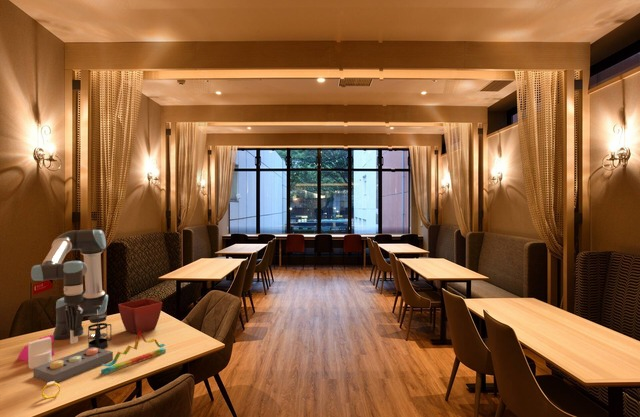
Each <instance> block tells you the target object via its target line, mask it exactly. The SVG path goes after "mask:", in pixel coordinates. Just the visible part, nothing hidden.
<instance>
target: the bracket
mask: <svg viewBox="0 0 640 417" xmlns="http://www.w3.org/2000/svg"><path fill="white" fill-rule="evenodd" d="M47 337H51V344H52V343H54V340H55V339H54V335H53V334H49V335H45V336H43V337H39V338H38V340H39V339H43V338H47ZM54 351H55V350H54V349H51V352H52V356H54V354H55V352H54ZM17 359H18V360H22V361H24V362H28V344H27V345H25V346H24V347H23V348H22V349H21V352H20V353H19V354H18V356H17Z"/></svg>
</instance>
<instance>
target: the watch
mask: <svg viewBox="0 0 640 417" xmlns="http://www.w3.org/2000/svg"><path fill="white" fill-rule="evenodd" d="M51 386H56V387H57V388H58V392H57V393H56V394H53V395H48V396H47V395H45V393H44V390H45V388H47V387H51ZM60 392H61V385H60V383H59V382H58V383H55V381H51V382H47V383H46V385H44V387H43V388H42V389H41V396H42V397H43V398H44V399H46V400H47V399H52V398H56V397H57V396H58V395H59V394H60Z"/></svg>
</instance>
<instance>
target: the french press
mask: <svg viewBox="0 0 640 417" xmlns="http://www.w3.org/2000/svg"><path fill="white" fill-rule="evenodd" d="M101 306H102V305H97V306H94V307H93V308H97V315H90V316H89V317H88V318H87V320H88V321H89V323H91V325H89V326H87V331H88V332H87V337H88V339H87V344H88V346H87V349H89V348H91V347H96V348H100V349H103V350H105V348H108V346H109V344H108V342H110V341H112V338H109V339H108V338H107V337H108V333H107V332H101V331H102V330H105V329H108V326H110V330H109V331H110V336H112V324H111V323H107V322H106V323H105V321H107V317H108V315H107V314H105V313H104V314H98V309H99V307H101ZM90 332H94V334H92V335H91V334H90ZM105 337H106V338H105Z"/></svg>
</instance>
